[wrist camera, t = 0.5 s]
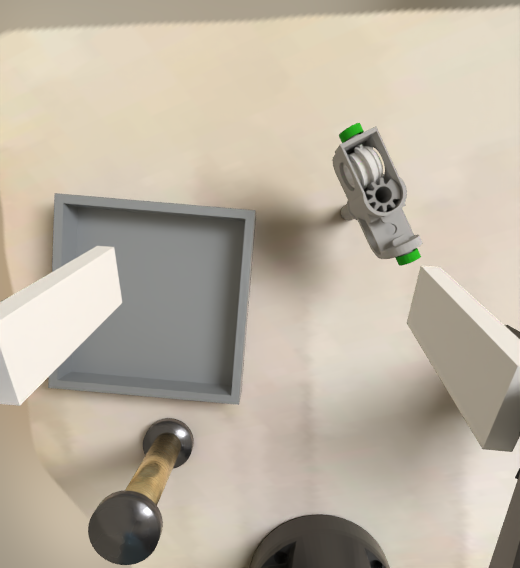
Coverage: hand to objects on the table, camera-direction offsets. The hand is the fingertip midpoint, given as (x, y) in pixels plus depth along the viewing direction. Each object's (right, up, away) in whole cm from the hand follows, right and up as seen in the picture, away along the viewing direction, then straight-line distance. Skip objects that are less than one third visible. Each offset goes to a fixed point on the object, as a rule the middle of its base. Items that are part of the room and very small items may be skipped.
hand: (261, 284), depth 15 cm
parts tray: (-10, -1, +19) cm, 22 cm away
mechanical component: (+9, +7, +19) cm, 22 cm away
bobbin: (-9, -16, +21) cm, 28 cm away
